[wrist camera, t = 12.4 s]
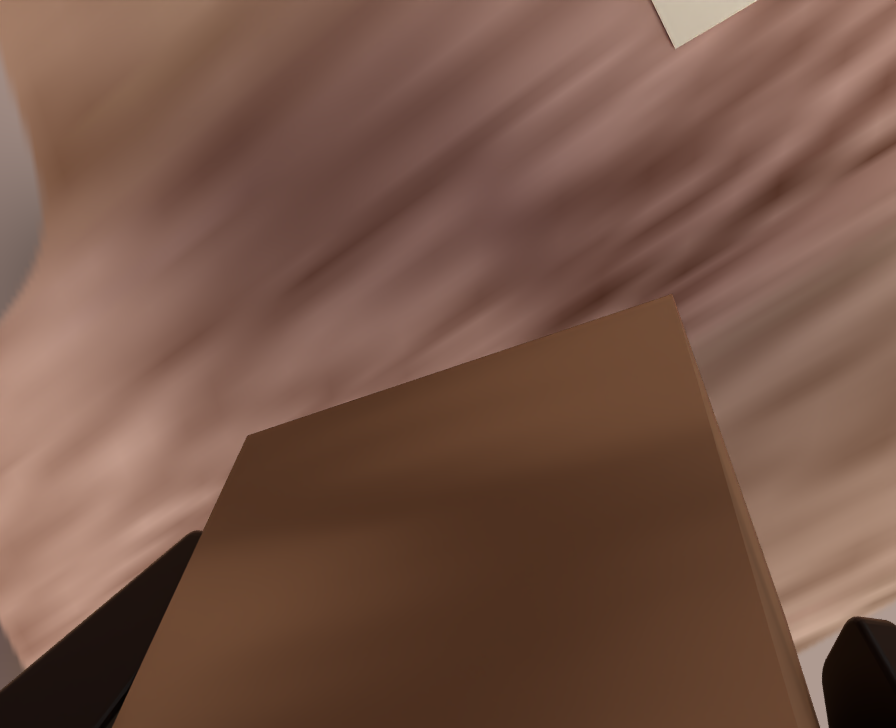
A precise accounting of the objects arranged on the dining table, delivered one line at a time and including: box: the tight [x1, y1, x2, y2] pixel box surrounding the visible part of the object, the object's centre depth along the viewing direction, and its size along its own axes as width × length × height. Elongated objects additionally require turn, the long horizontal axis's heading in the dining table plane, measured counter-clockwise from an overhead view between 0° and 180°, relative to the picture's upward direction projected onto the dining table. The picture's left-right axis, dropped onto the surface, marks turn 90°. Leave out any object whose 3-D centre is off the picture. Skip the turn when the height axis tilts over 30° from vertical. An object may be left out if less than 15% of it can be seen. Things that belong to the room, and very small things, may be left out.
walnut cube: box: [112, 294, 820, 728], centre depth 8 cm, size 5×5×5 cm
